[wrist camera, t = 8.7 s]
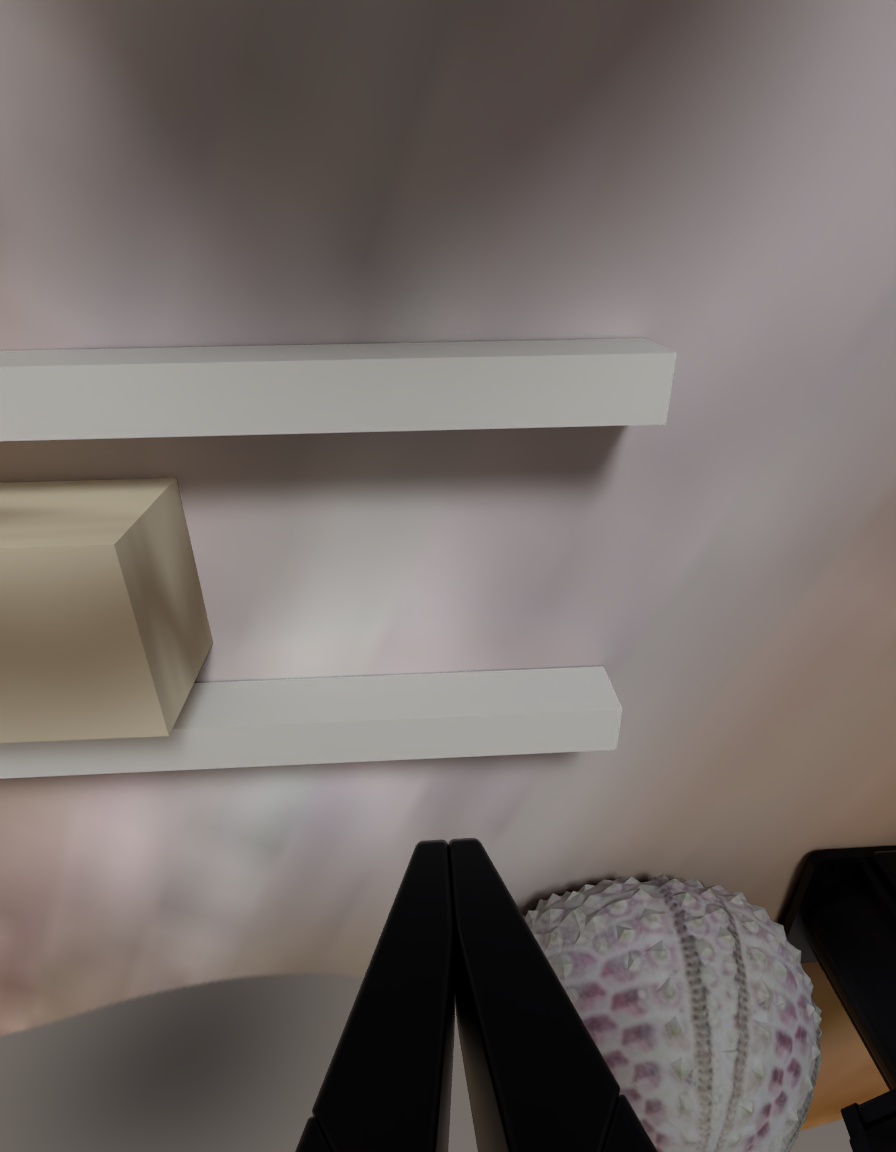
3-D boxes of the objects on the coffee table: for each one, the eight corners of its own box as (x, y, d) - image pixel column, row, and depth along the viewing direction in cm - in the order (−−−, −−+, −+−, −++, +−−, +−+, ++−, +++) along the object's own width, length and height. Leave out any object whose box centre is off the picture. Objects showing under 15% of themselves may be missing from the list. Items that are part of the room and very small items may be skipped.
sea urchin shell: (823, 951, 28) (963, 1196, 21) (563, 1066, 31) (607, 1309, 24) (679, 783, 23) (801, 1036, 15) (384, 944, 26) (375, 1211, 19)
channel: (598, 704, 20) (616, 749, 19) (-53, 733, 20) (-99, 783, 18) (645, 338, 15) (676, 352, 13) (-243, 355, 14) (-334, 373, 13)
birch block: (214, 640, 19) (168, 736, 15) (37, 646, 18) (-50, 745, 15) (178, 475, 16) (114, 544, 13) (-26, 481, 16) (-147, 552, 13)
